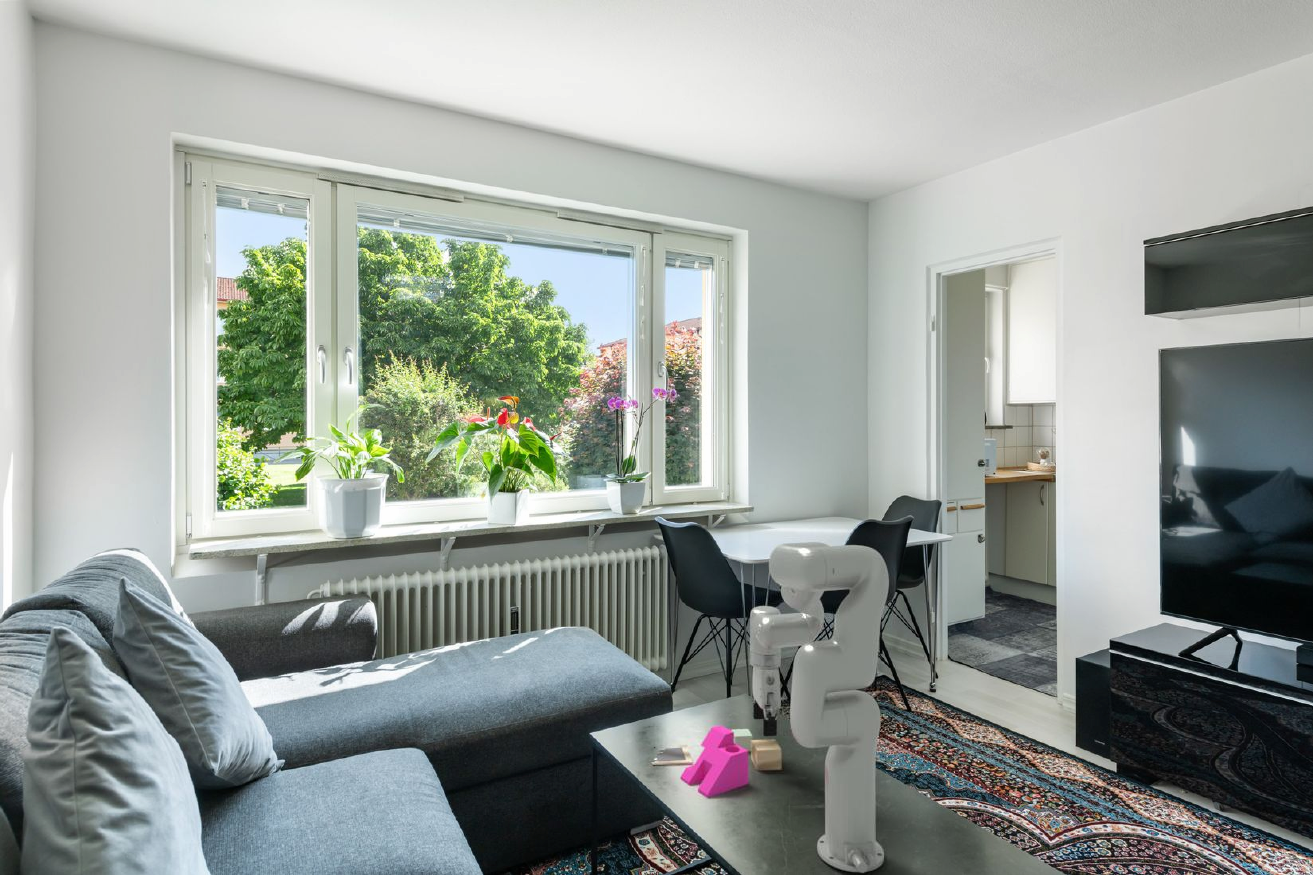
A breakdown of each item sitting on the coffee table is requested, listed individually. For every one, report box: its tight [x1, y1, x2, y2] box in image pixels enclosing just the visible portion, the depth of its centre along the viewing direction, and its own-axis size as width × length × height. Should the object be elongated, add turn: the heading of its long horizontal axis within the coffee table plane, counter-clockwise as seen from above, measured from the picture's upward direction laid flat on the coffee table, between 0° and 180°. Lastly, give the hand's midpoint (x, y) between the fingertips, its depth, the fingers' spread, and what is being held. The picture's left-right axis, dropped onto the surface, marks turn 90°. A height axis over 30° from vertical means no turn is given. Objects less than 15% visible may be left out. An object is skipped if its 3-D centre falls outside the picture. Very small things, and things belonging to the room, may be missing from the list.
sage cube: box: [730, 728, 753, 752], centre depth 185 cm, size 4×4×4 cm
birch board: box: [651, 744, 694, 766], centre depth 180 cm, size 10×10×1 cm
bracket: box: [679, 724, 749, 799], centre depth 167 cm, size 12×10×10 cm
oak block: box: [750, 738, 782, 771], centre depth 176 cm, size 6×6×5 cm
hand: (764, 726), depth 177 cm, fingers open, 9 cm apart
